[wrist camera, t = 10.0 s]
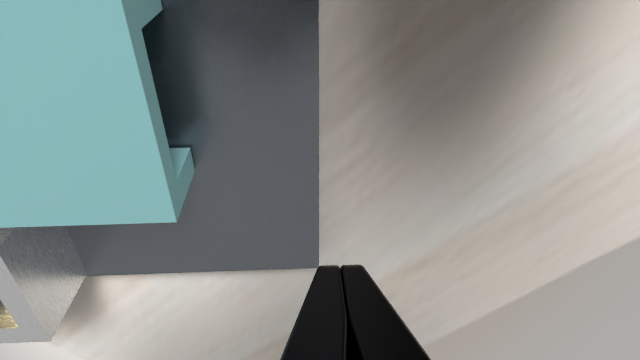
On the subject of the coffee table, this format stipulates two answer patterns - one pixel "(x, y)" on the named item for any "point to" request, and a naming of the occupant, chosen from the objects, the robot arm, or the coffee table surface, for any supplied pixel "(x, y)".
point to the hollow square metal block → (36, 281)
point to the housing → (83, 118)
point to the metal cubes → (229, 142)
